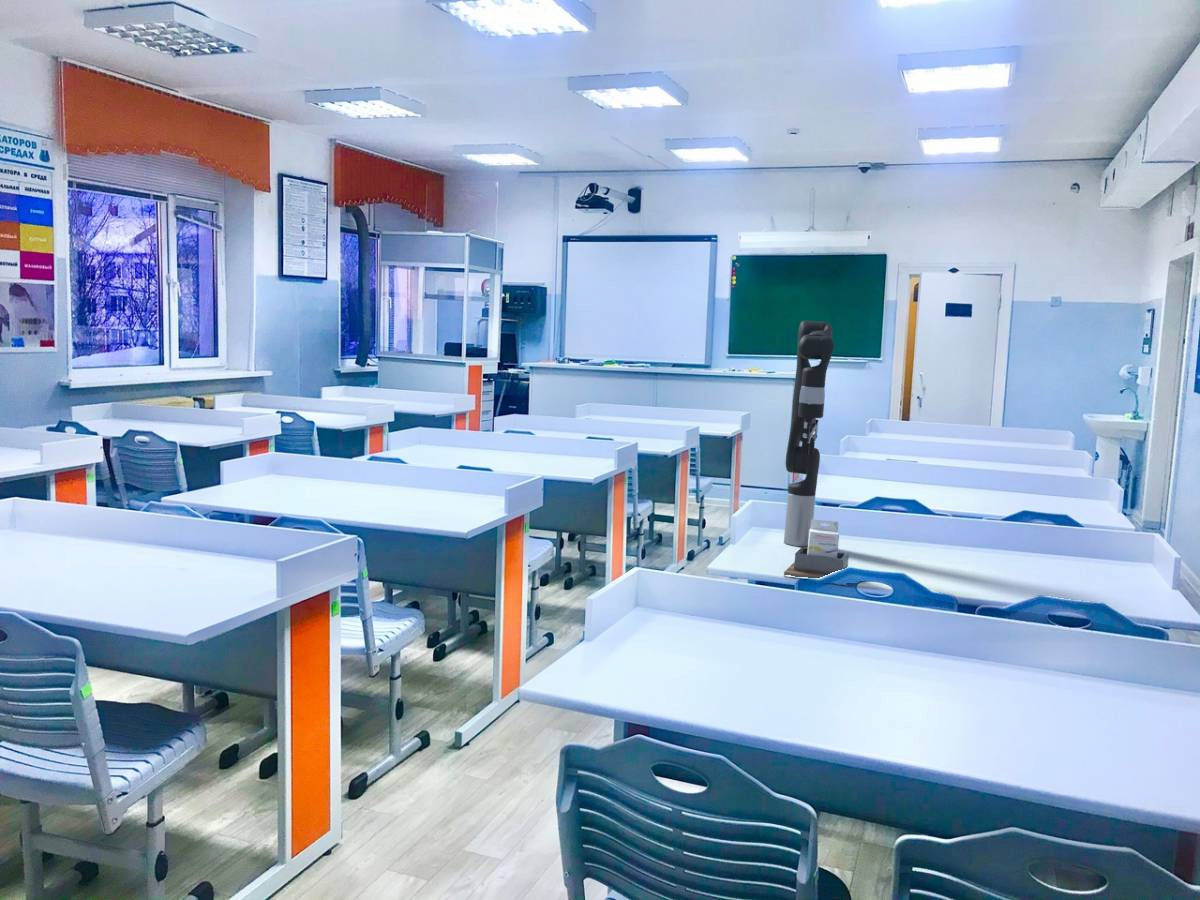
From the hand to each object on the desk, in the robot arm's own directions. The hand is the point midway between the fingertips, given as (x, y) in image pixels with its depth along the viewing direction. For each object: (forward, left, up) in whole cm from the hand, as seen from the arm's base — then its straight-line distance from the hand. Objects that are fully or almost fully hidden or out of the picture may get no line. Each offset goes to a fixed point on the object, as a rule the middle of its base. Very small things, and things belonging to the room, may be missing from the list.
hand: (807, 454), depth 299 cm
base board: (+12, +9, -34) cm, 37 cm away
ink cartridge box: (+12, +9, -33) cm, 36 cm away
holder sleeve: (+12, +9, -33) cm, 36 cm away
